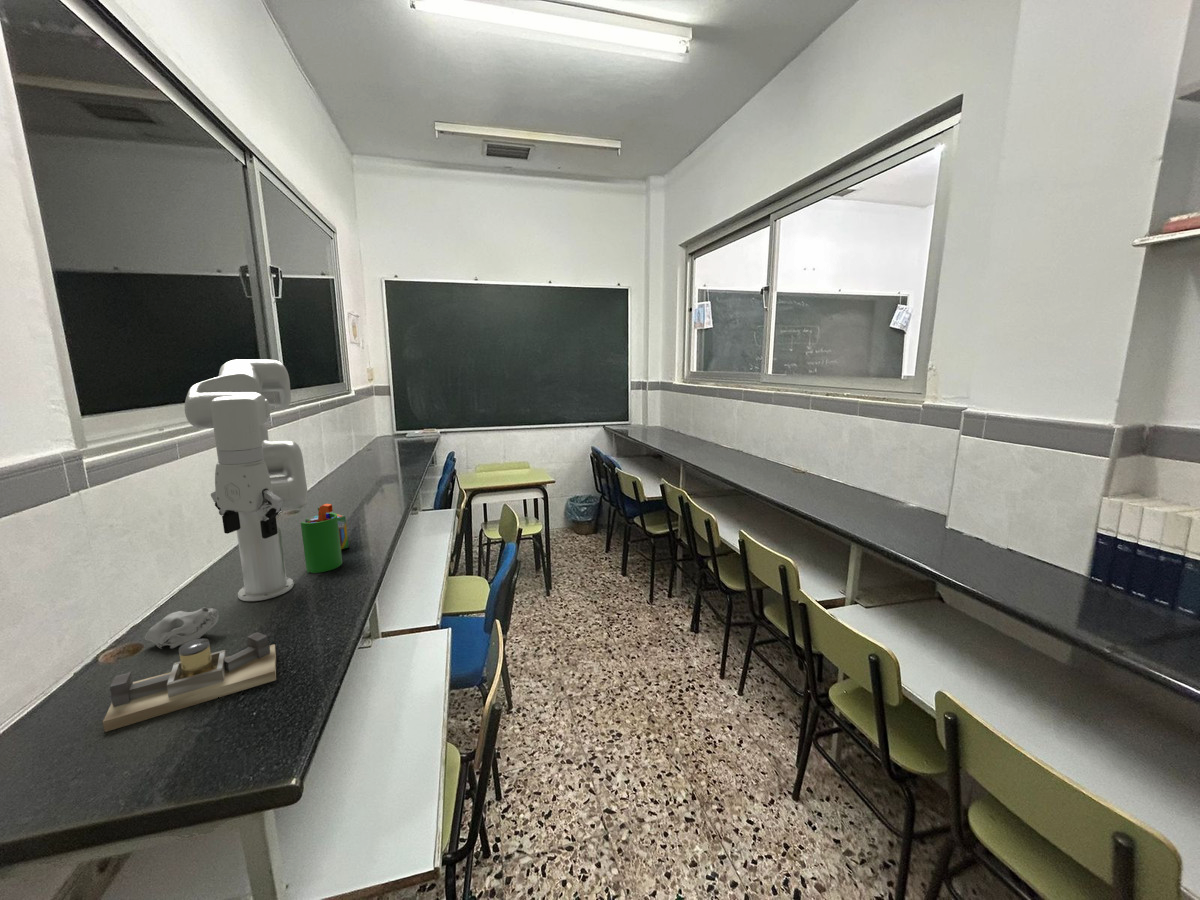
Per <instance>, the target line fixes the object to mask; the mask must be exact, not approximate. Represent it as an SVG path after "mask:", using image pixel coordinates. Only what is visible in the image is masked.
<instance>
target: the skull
mask: <svg viewBox="0 0 1200 900" xmlns="http://www.w3.org/2000/svg"><path fill="white" fill-rule="evenodd" d="M219 619H220V614H219V611H218V609H216V608H209V607H201V608H199V609H198V610H194V611H190V612H189V611H183V610H179V611H174V612H171V613H168V614H167V615H166V616H165V617H163V618H162V619H161V620H160V621H158V622H156V624H154V625H152V627H150V628H149V629H148V630H147V632H146V634H145V635H144V640H145V641H147V642H148V641H149V642H152V643H153V644H154V645H155V646H156V647H157V648H159V649H161V648H160V647H163V648H164V647H165V646H169V649H175V648H177V647H178V646H179V647H180V646H182V645H183V644H185V643H187V642H190V641H192V640H196V639H201V637H203V636H204V635H205V634H206V633H207V632H208V631H209V630H211V629H212V628H213V627H215V625H216V624H217V623H218V622H219Z"/></svg>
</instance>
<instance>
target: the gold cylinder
mask: <svg viewBox="0 0 1200 900" xmlns="http://www.w3.org/2000/svg"><path fill="white" fill-rule="evenodd" d="M211 653H212V651H211V645H210V640H209V639H208V638H199V639H196V640H192V641H190V642H187V643H185V644H182V645H180V646H179V648H178V654H179V660H180V661H181V667H182V674H183V678H187V677H190V676H194V675H198V674H201V673H205V672H208V671H212V670H213V664H212V657H211ZM180 661H179V662H180Z"/></svg>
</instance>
